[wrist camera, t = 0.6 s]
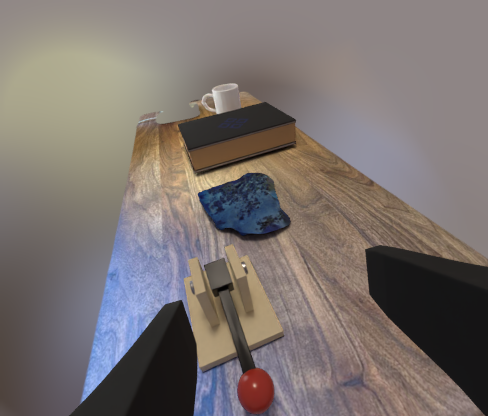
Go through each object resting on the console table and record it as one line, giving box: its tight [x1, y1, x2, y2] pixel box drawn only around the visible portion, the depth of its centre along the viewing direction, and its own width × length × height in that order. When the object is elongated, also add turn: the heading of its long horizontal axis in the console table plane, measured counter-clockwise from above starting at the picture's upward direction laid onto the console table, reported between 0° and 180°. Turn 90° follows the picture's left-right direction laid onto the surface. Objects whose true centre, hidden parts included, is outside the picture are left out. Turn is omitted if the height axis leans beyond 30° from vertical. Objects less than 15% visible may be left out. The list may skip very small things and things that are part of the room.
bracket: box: [184, 244, 284, 372], centre depth 26 cm, size 11×9×8 cm
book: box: [178, 102, 296, 173], centre depth 60 cm, size 17×25×7 cm
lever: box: [204, 258, 274, 414], centre depth 22 cm, size 13×3×3 cm, turn 19°
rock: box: [198, 173, 291, 236], centre depth 42 cm, size 15×17×2 cm
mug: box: [202, 84, 241, 114], centre depth 76 cm, size 8×12×10 cm
